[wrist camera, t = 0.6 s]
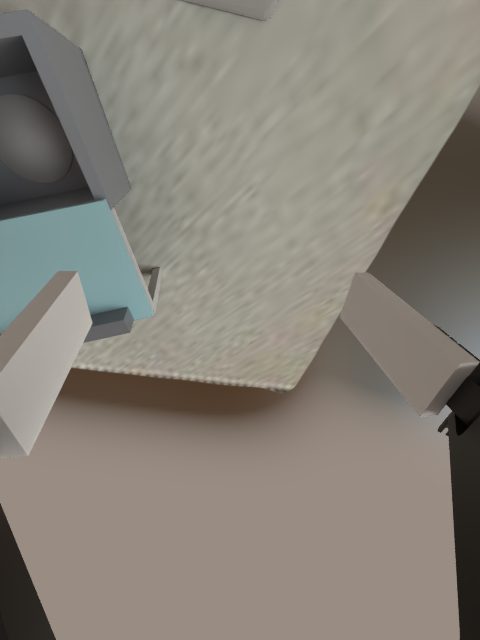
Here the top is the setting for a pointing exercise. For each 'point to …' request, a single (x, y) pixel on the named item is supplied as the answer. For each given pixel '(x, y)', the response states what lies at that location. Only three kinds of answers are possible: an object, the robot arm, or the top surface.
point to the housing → (54, 129)
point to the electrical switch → (242, 7)
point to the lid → (71, 265)
